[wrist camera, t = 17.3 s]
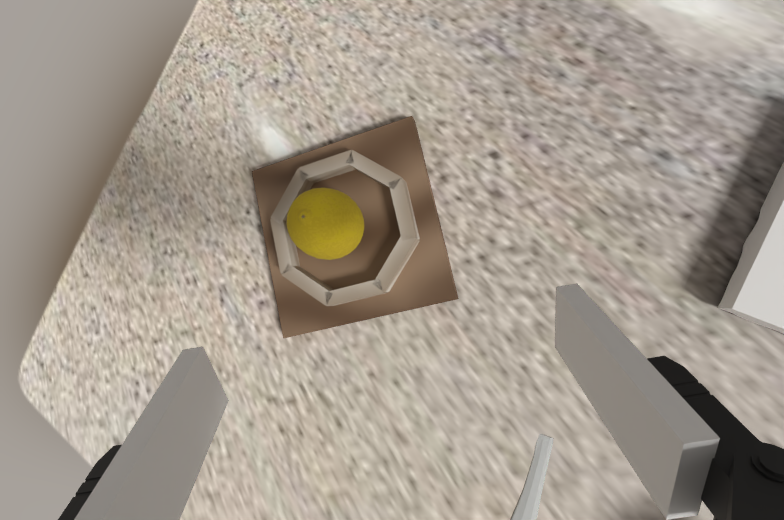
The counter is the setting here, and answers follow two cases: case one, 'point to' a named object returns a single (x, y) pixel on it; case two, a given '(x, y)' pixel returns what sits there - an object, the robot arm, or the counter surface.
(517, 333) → the counter surface
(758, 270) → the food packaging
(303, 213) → the lemon
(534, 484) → the butter knife
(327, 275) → the lemon holder
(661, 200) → the counter surface
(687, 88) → the counter surface
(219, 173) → the counter surface
